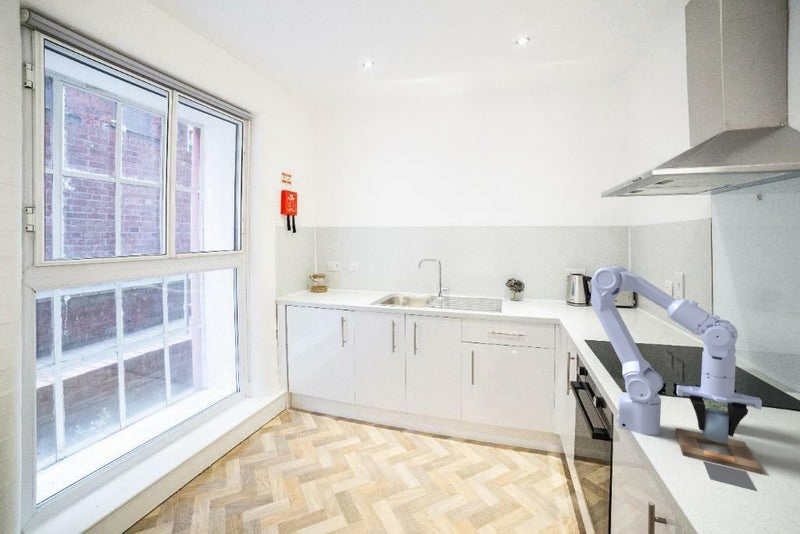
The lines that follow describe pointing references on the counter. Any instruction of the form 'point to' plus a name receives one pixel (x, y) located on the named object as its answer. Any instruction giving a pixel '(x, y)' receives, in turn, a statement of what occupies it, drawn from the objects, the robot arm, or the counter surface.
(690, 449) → the socket plate
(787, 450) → the counter surface
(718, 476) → the mat
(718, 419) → the peg
